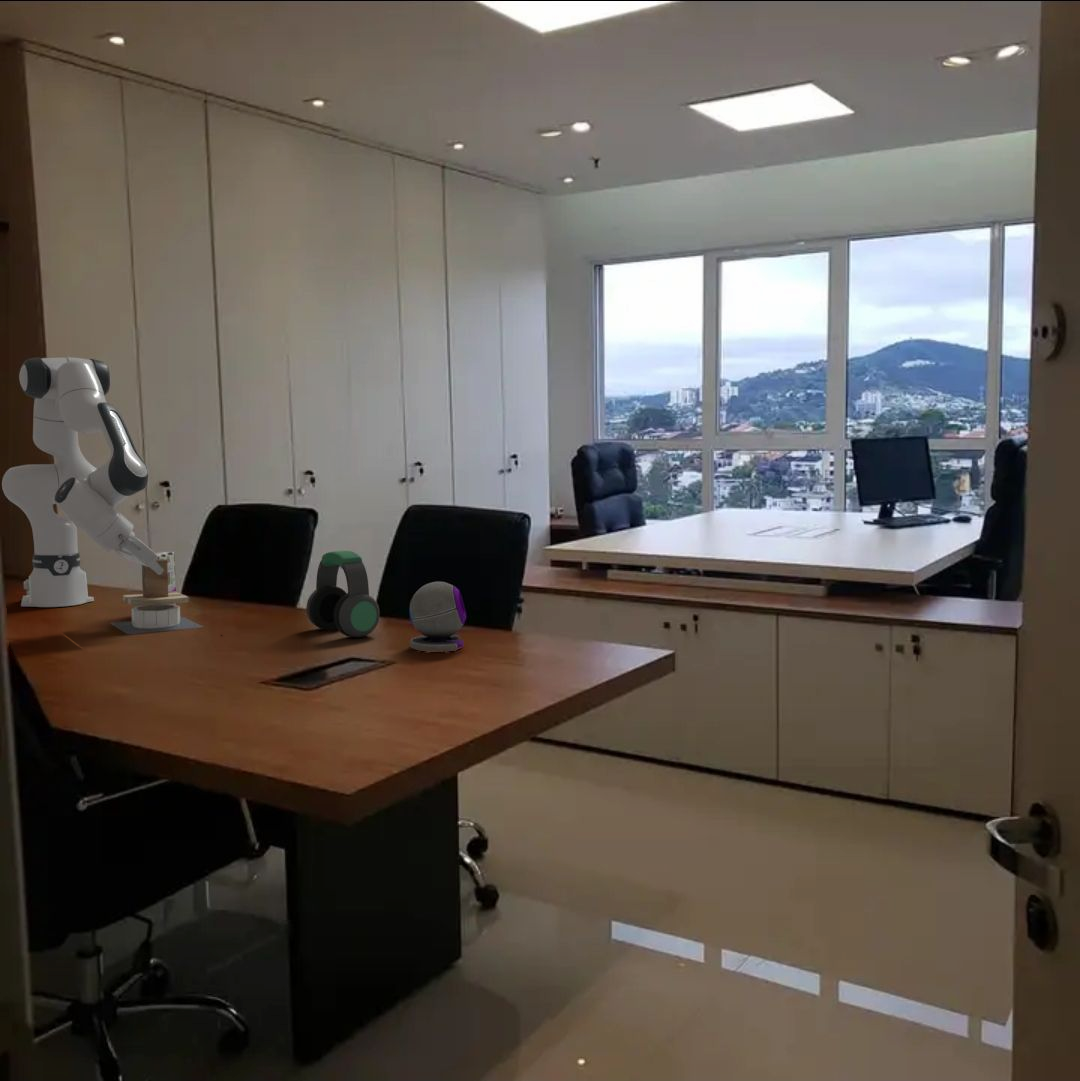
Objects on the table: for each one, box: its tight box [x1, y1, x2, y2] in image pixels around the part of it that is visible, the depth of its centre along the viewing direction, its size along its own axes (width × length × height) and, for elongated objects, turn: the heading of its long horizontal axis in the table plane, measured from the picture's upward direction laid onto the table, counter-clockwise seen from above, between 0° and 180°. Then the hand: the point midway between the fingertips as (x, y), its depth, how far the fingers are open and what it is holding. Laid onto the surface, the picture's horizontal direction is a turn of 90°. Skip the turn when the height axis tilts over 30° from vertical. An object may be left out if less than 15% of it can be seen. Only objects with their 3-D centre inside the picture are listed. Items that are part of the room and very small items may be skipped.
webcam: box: [408, 581, 467, 651], centre depth 242 cm, size 13×13×15 cm
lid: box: [122, 559, 190, 607], centre depth 264 cm, size 13×13×10 cm
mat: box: [109, 616, 204, 635], centre depth 265 cm, size 18×18×1 cm
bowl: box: [130, 604, 181, 629], centre depth 265 cm, size 11×11×4 cm
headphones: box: [305, 550, 381, 638], centre depth 258 cm, size 19×11×20 cm, turn 42°
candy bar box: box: [155, 551, 178, 605], centre depth 279 cm, size 11×5×16 cm, turn 179°
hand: (157, 571), depth 264 cm, fingers closed on lid, 5 cm apart
